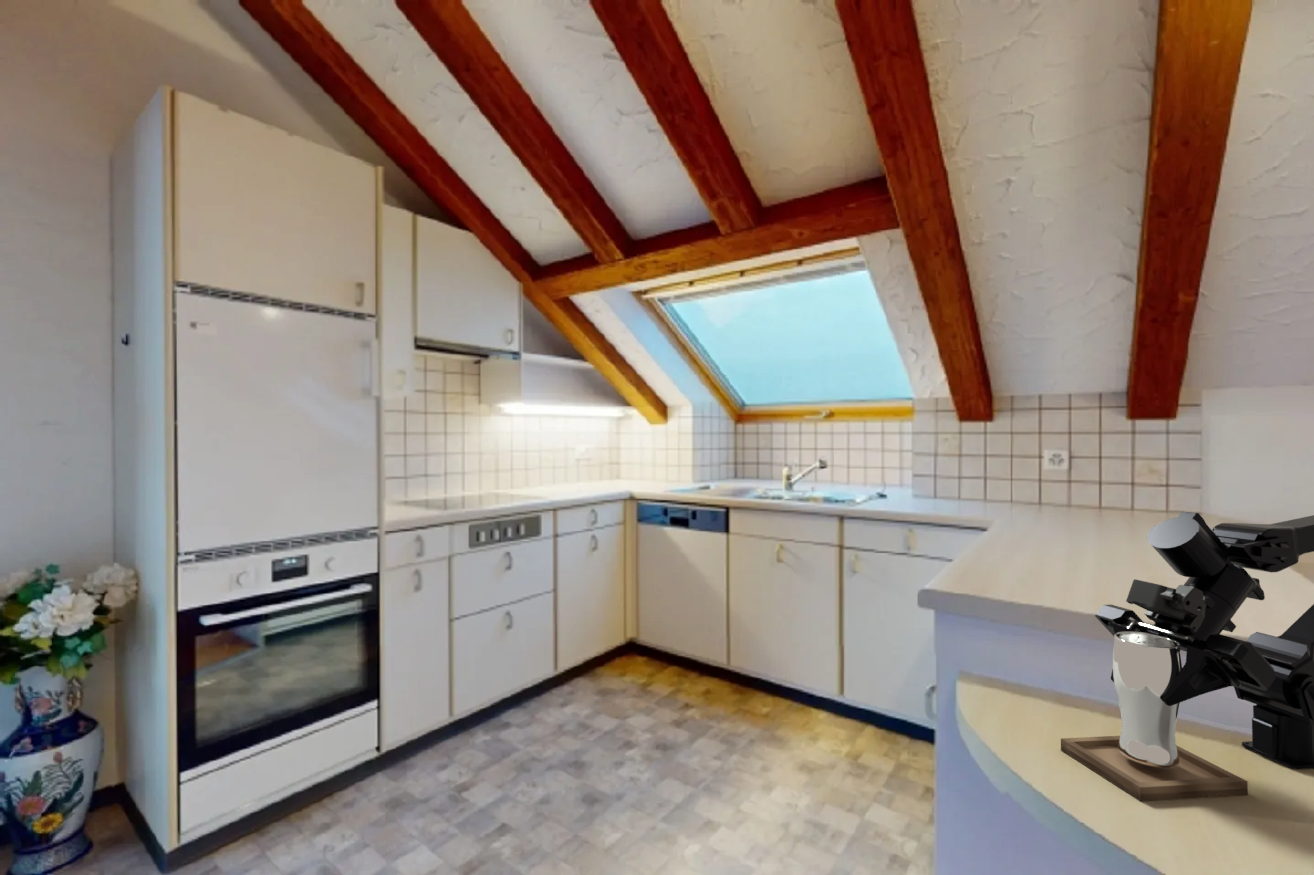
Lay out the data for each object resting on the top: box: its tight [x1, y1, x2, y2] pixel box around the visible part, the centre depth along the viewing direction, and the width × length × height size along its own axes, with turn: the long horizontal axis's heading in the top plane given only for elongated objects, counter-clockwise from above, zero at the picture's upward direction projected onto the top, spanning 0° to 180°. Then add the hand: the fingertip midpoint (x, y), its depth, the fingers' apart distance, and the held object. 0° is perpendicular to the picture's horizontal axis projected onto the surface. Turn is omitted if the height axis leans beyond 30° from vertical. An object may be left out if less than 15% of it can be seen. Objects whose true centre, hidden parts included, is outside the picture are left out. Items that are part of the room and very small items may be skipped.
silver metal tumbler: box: [1112, 631, 1183, 769], centre depth 77 cm, size 7×7×15 cm
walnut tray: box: [1060, 735, 1249, 802], centre depth 76 cm, size 14×12×2 cm
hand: (1138, 692), depth 76 cm, fingers closed on silver metal tumbler, 6 cm apart
